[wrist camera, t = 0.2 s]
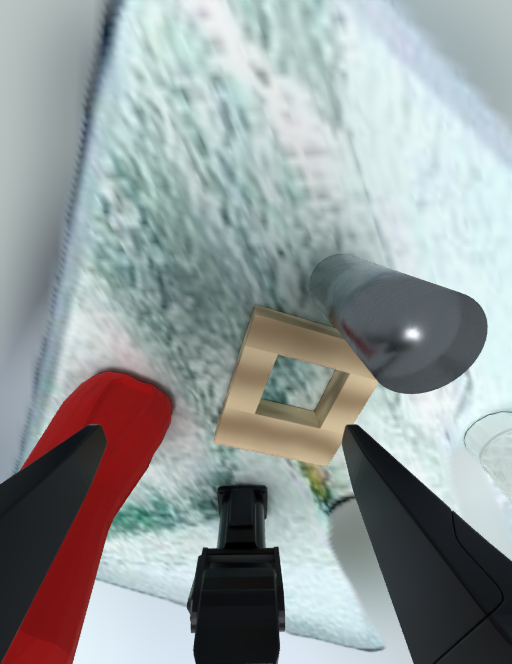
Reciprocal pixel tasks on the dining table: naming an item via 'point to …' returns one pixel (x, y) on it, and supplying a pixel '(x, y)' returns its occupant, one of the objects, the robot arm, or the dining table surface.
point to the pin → (400, 323)
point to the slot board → (283, 420)
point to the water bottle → (90, 506)
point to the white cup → (493, 448)
